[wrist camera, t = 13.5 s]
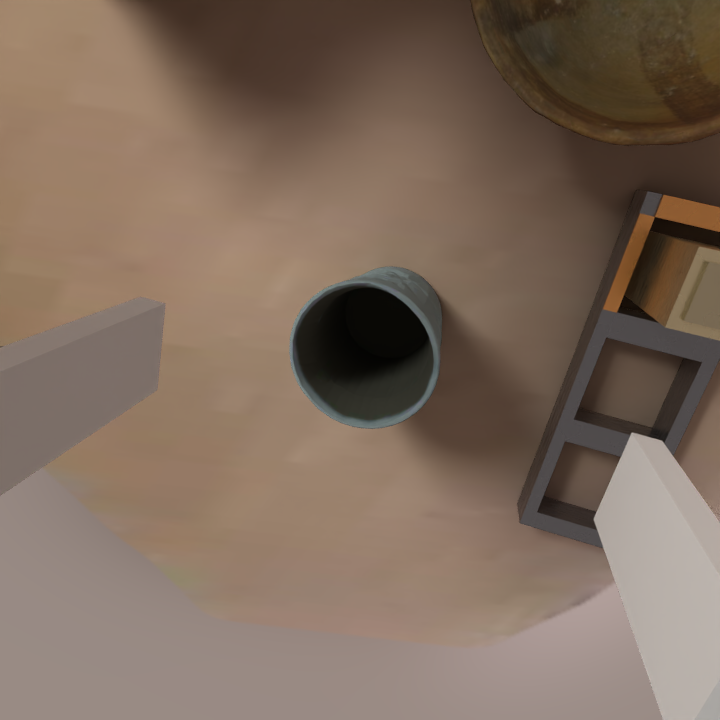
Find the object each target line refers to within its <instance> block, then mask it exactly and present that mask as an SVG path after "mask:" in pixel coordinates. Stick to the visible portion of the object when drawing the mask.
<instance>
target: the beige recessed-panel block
mask: <svg viewBox="0 0 720 720" xmlns="http://www.w3.org/2000/svg"><path fill="white" fill-rule="evenodd" d="M624 295H625V296H626V297H627V298H629V299H630V300H631V301H632V302H634V303H635V304H636V305H638V306H639V307H640V308H641V309H643V310H644V311H645V312H646V313H648V314H649V315H650V316H651V317H653V318H654V319H655V320H656V321H658V322H659V323H660V324H661V325H663V326H664V327H665V328H669V329H674V330H678V331H682V332H686V333H690V334H694V335H698V336H702V337H706V338H711V339H715V340H719V341H720V247H719V246H715V245H710V244H706V243H701V242H697V241H692V240H688V239H684V238H679V237H675V236H670V235H666V234H661V233H657V232H652V231H649V233H648V236H647V238H646V241H645V243H644V246H643V248H642V251H641V253H640V256H639V258H638V261H637V263H636V266H635V268H634V271H633V273H632V276H631V278H630V281H629V284H628V286H627V289H626V291H625V294H624Z"/></svg>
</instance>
